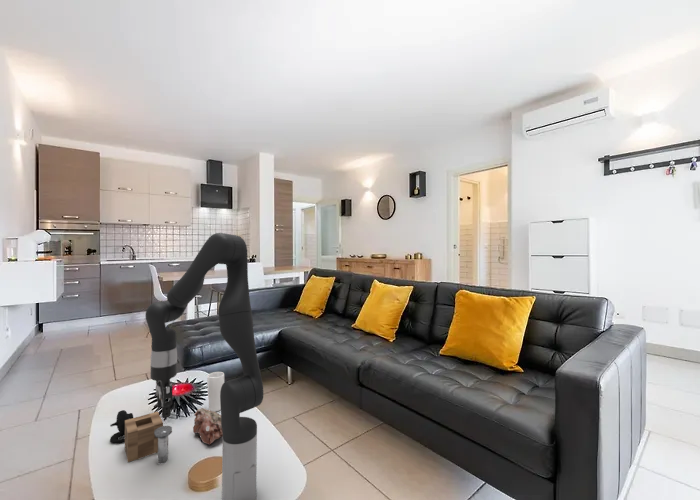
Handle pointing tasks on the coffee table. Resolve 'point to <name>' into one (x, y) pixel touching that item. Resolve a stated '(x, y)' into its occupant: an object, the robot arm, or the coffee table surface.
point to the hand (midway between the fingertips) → (163, 411)
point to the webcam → (120, 427)
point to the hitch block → (141, 436)
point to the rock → (207, 425)
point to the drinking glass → (214, 390)
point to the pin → (162, 442)
